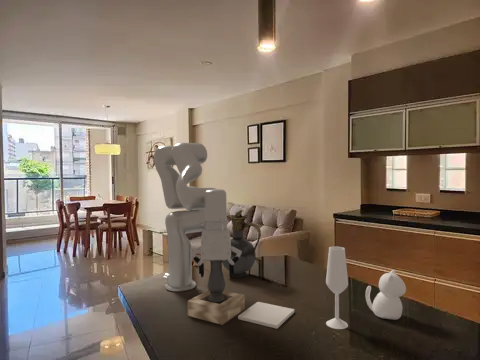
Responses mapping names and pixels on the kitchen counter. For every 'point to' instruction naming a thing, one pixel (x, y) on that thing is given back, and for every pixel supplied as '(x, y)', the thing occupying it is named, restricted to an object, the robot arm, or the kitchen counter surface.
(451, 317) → the kitchen counter surface
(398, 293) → the cat figurine
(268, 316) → the ceramic tile
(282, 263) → the kitchen counter surface
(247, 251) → the pitcher
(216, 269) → the candle holder
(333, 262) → the champagne flute
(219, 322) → the socket block
